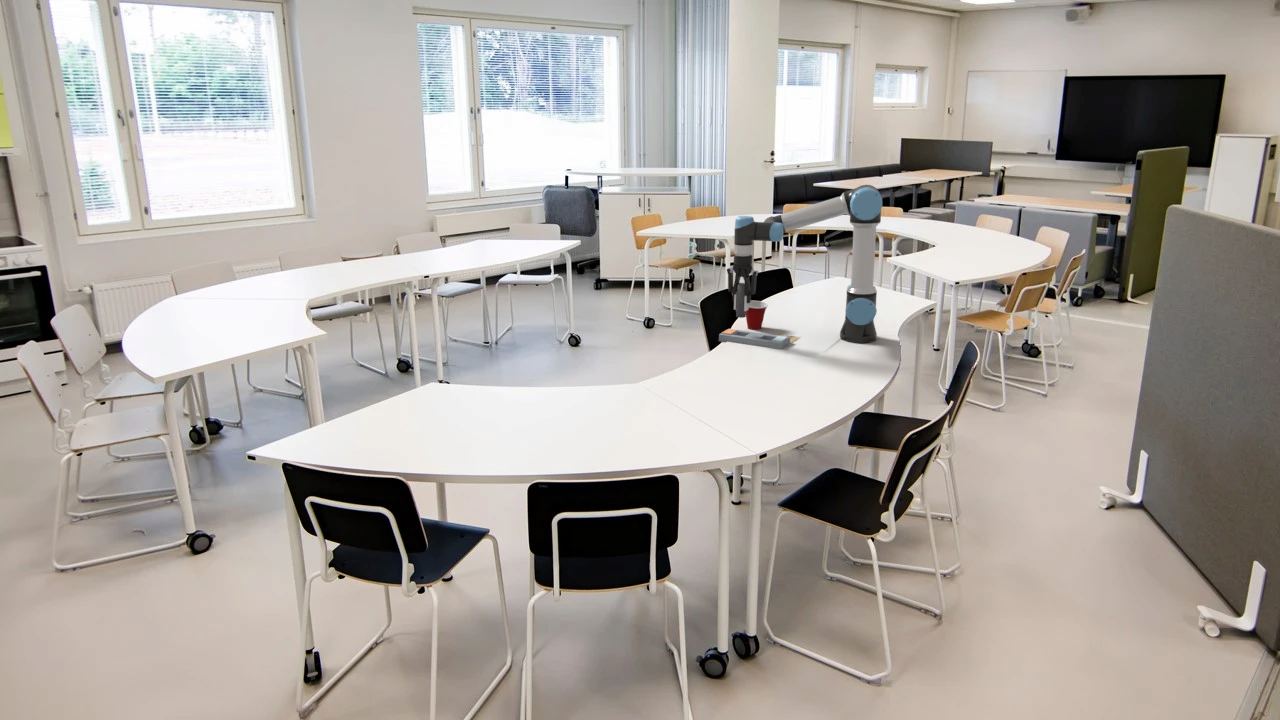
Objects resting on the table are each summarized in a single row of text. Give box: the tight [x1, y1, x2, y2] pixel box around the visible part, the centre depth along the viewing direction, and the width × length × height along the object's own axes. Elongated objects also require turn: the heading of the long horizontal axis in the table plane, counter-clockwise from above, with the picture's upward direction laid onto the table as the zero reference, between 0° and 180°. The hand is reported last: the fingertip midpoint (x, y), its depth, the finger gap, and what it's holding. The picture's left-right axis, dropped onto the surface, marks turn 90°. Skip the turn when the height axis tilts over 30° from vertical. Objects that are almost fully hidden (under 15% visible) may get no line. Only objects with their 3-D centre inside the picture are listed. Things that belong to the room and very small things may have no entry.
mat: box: [776, 333, 801, 344], centre depth 350 cm, size 10×10×1 cm
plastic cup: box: [745, 299, 769, 331], centre depth 364 cm, size 11×11×12 cm
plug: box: [735, 282, 746, 319], centre depth 344 cm, size 4×4×14 cm
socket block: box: [718, 328, 791, 350], centre depth 346 cm, size 28×10×4 cm, turn 59°
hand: (741, 309), depth 345 cm, fingers closed on plug, 4 cm apart
